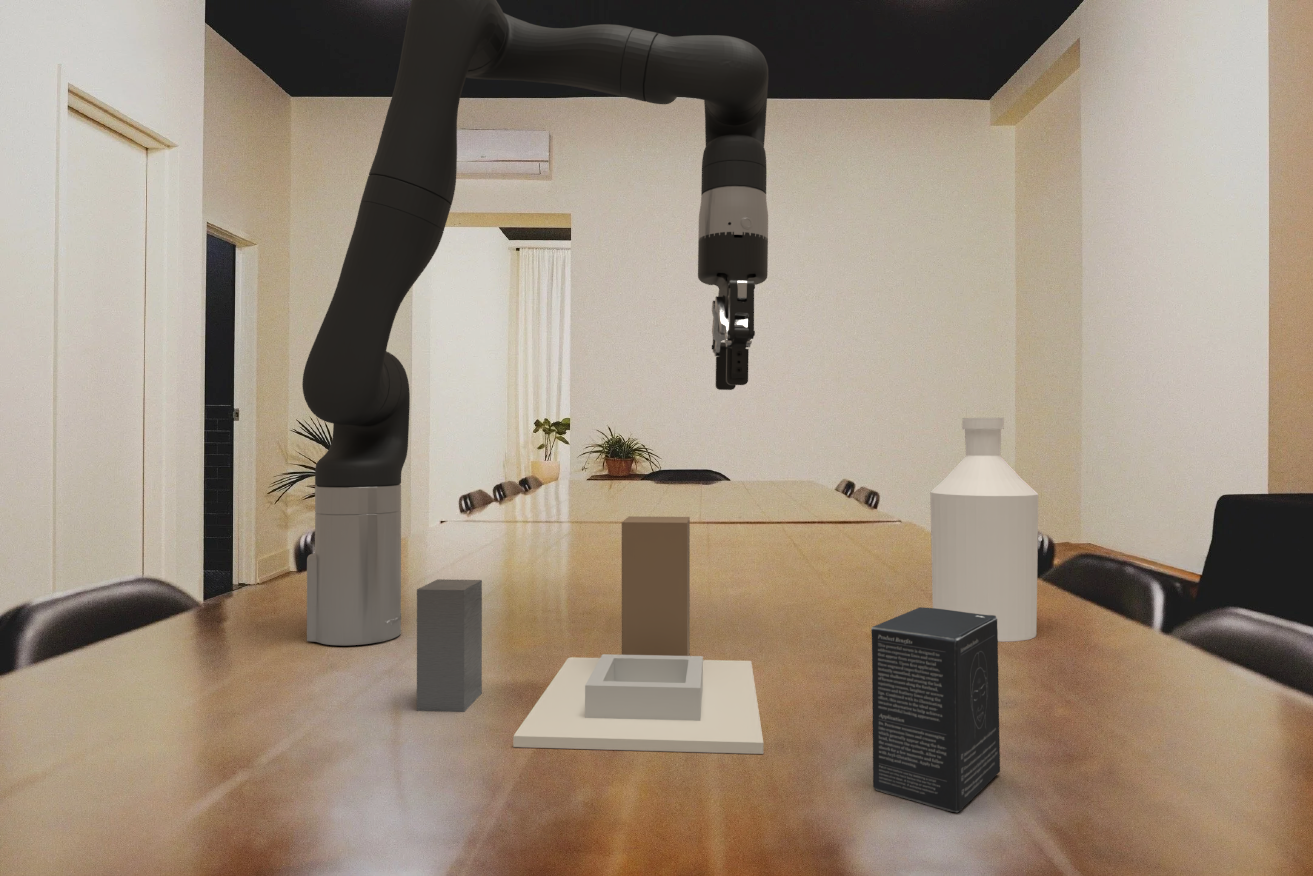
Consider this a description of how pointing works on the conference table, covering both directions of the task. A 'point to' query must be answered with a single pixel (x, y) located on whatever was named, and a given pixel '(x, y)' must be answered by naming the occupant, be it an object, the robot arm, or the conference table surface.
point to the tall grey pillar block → (449, 645)
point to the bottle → (986, 536)
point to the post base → (650, 668)
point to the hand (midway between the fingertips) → (730, 387)
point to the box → (935, 706)
